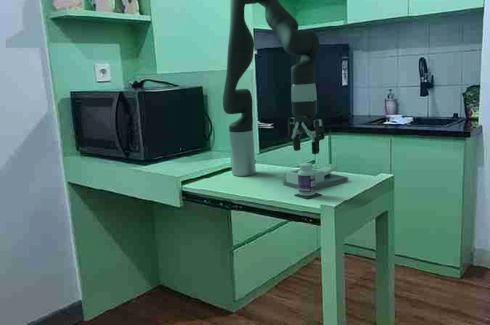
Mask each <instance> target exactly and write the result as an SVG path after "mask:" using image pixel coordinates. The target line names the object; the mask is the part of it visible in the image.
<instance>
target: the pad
mask: <svg viewBox="0 0 490 325" xmlns="http://www.w3.org/2000/svg"><path fill="white" fill-rule="evenodd" d="M294 196H295V197H297V198H301V199H304V200H310V199H313V198H317V197H321V196H323V194H322V193H319V192H316V193H315V194H314V195H312V196H301V195H299V193H296V194H294Z"/></svg>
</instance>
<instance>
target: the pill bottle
mask: <svg viewBox="0 0 490 325" xmlns="http://www.w3.org/2000/svg"><path fill="white" fill-rule="evenodd" d="M298 167H299V169H301V170H300V171H299V172H298V188H299V189H298V194H299V195H301V196H312V195H314V194H315V193H317V190H316V186H315V172H314V171H313V170H312V169H314V168H313V167H314V166H313V163H310V162H308V163H307V162H304V163H299V165H298Z"/></svg>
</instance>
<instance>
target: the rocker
mask: <svg viewBox="0 0 490 325" xmlns="http://www.w3.org/2000/svg"><path fill="white" fill-rule="evenodd" d="M338 169H339V166H338V164H337V165H336V164H333V163H329V164H327V165H325V166H323V167H320V168H319V169H318V170H322V171H324V176H325V175H327V174H329V173H331V174H332V172H334V171H337V170H338Z"/></svg>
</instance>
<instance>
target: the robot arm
mask: <svg viewBox="0 0 490 325" xmlns="http://www.w3.org/2000/svg"><path fill="white" fill-rule="evenodd" d="M252 4H253V5H254V4H259V5H261V6H262V7H263V8H264V16H265V22H266V24H267V25H268V27H269V28H270V29H271V30H272V31H273V32H274V33H275V34H276V36H278V39H279V41H280V44H281V46H282V48H283V49H284V51H285V52H286V53H288V54H289V55H291V56H297V57H298V56H301V57H300V60H299V62H298V63H295V64H294V65H292V66H291V69H290V80H291V92H290V98H291V99H290V100H291V114H292V116H293V117H287V135H288V137H291V139H292V143H293V144H292V147H293V151H295V152H298V151H301V136H302V134H303V133H304V134H307V136H308V137H310V140H311V154H312V155H318V154H319V153H320V141H322V140H325V128H324V127H325V125H324V119H321V118H320V119H316V115H317V114H318V99H317V88H316V71H315V70H316V69H315V68H316V65H317V61H318V55H319V52H320V46H321V45H320V38H319V36H318V34H317V33H316V32H315V31H313V30H307V29H306V30H305V29H304V30H299V22H298V21H297V19H296V18H295V17H294V16H293V15H291V13H290V12H289V11H288V10H286V8H285V7H284V6H283V5H282V4H281V2H280V1H279V0H229V30H228V31H229V34H228V43H227V61H226V77H225V81H224V87H223V96H222V108H223V110H224V113H225V114H226V115H236V114H237V115H238V114H241V116H240V117H239V118H238V119H237V120H235V121H233V122H231V123H230V124H229V125H228V131H229V141H230V142H229V143H230V152H229V154H230V165H231V174H232V175H233V176H235V177H248V176H252V175H255V174H256V173H257V170H256V168H257V167H256V156H255V155H256V153H255V142H254V141H255V140H254V126H253V124H254V115H253V114H254V113H253V111H254V110H253V108H254V106H253V96H252V93H251V91H250V90H249V89H248V88H239V89H237V86H238V83H239V82H240V79H241V78H242V77H243V75H244V74H245V72H246V71H247V70H248V69H249V67H250V66H251V64H252V62H253V59H254V51H255V39H254V36H253V34H252V33H251V31H250V29H249V26H248V25H247V22H246V20H245V7H246V5H252Z"/></svg>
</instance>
